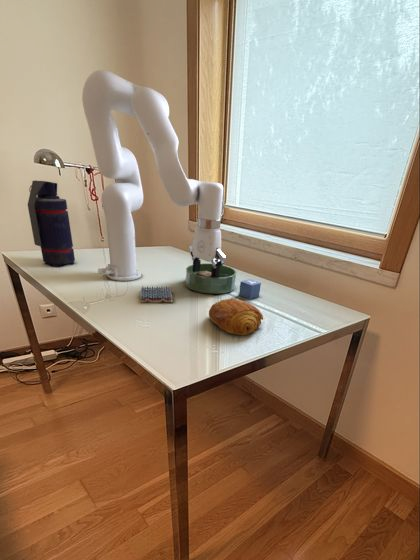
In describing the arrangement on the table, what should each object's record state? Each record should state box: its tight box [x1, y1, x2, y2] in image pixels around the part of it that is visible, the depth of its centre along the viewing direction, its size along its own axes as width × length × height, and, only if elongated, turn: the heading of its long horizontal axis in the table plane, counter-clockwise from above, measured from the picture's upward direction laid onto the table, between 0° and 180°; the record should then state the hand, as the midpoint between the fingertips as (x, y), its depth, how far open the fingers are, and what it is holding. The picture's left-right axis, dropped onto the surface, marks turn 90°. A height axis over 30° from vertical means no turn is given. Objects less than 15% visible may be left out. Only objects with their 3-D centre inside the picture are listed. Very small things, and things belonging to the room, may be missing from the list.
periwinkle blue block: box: [238, 278, 262, 300], centre depth 111 cm, size 5×5×5 cm
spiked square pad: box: [139, 285, 174, 303], centre depth 105 cm, size 10×11×2 cm
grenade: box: [27, 180, 76, 268], centre depth 123 cm, size 14×12×30 cm
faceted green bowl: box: [185, 262, 238, 295], centre depth 117 cm, size 18×18×6 cm
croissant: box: [208, 297, 264, 336], centre depth 89 cm, size 14×16×8 cm
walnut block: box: [196, 271, 212, 278], centre depth 114 cm, size 5×5×5 cm
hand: (205, 274), depth 114 cm, fingers open, 9 cm apart
